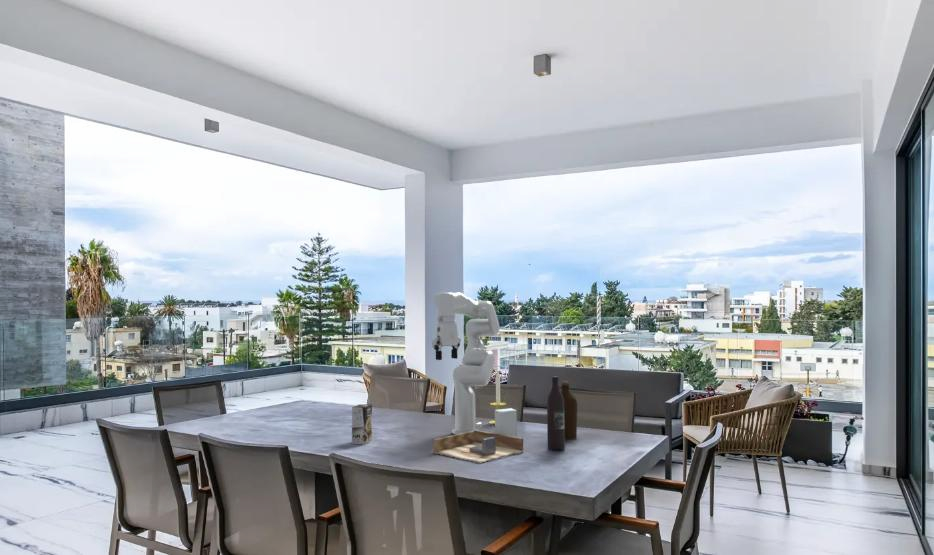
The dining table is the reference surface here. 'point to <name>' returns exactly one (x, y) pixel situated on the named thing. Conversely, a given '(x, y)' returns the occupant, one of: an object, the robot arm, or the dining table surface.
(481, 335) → the robot arm
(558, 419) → the wine bottle
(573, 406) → the olive oil
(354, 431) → the coffee box
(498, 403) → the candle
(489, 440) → the gray t-shaped block
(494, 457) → the corner arena
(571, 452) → the dining table surface
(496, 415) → the skincare box
